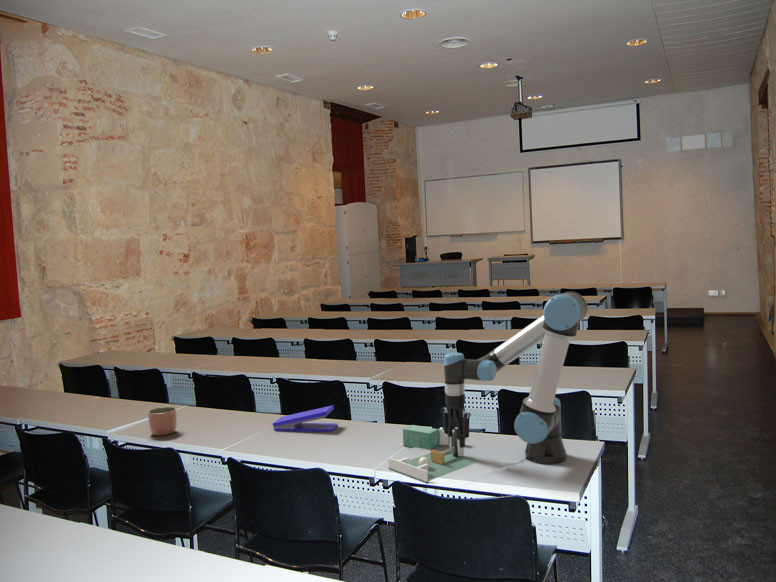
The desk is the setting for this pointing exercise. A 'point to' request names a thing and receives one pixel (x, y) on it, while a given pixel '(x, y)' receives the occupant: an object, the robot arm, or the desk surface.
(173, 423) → the planter
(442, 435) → the bracket
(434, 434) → the box
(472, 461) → the pitch
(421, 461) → the ball
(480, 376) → the robot arm
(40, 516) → the desk surface
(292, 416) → the stapler
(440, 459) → the small squeegee
